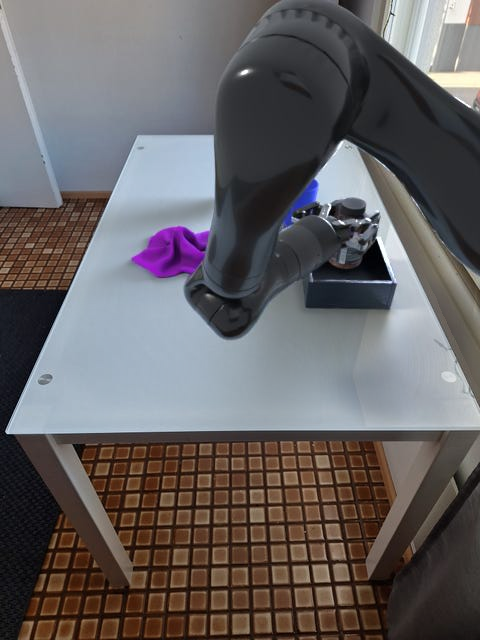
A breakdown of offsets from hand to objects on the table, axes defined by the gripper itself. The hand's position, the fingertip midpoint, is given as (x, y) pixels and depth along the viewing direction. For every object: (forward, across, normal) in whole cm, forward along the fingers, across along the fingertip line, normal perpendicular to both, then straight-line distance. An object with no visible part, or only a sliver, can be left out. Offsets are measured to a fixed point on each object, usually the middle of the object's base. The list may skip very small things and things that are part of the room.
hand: (359, 209), depth 79 cm
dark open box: (+2, +2, +18) cm, 18 cm away
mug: (+13, +22, +18) cm, 31 cm away
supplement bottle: (-2, 0, +9) cm, 10 cm away
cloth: (-11, +32, +18) cm, 38 cm away
